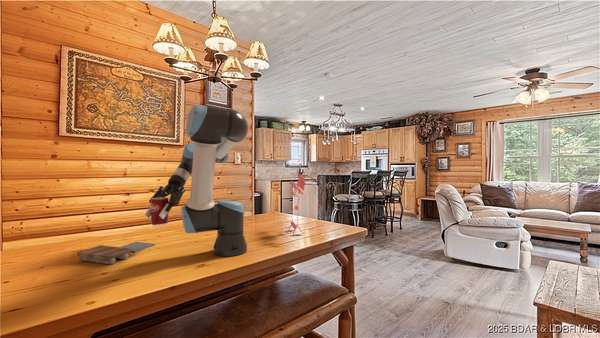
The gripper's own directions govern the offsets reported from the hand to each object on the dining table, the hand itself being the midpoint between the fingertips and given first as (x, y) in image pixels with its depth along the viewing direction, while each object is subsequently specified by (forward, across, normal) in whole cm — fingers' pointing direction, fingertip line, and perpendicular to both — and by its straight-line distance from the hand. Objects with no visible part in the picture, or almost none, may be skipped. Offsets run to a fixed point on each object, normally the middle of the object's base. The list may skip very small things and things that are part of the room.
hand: (154, 216), depth 122 cm
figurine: (-28, -54, -51) cm, 79 cm away
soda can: (+1, 0, -6) cm, 6 cm away
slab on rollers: (+21, +12, -2) cm, 24 cm away
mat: (+9, +14, -14) cm, 22 cm away
